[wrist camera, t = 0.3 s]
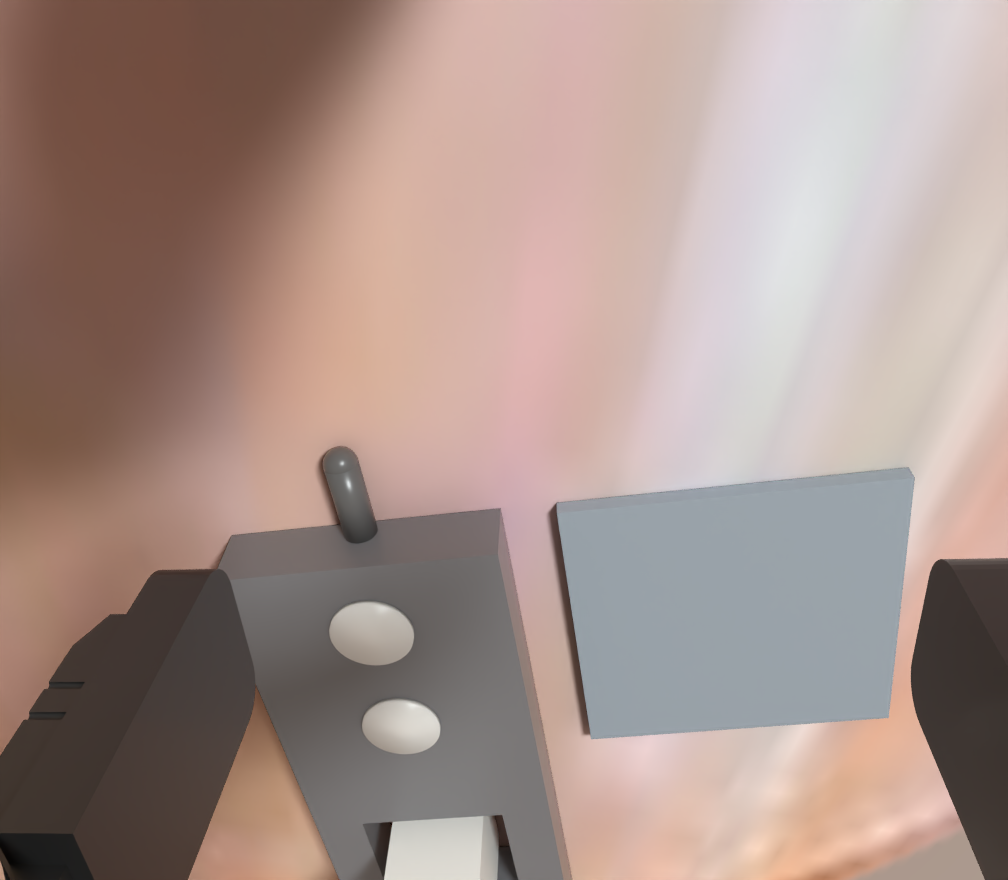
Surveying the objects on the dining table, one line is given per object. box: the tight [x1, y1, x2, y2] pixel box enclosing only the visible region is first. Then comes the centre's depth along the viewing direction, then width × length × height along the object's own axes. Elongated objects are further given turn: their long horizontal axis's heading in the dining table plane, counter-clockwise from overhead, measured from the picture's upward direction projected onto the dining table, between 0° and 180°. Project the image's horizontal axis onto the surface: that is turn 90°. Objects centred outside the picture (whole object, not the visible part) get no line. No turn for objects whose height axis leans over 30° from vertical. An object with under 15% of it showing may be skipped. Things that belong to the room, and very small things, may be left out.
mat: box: [557, 468, 915, 739], centre depth 35 cm, size 12×12×1 cm
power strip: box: [217, 446, 572, 880], centre depth 38 cm, size 28×10×3 cm, turn 9°
